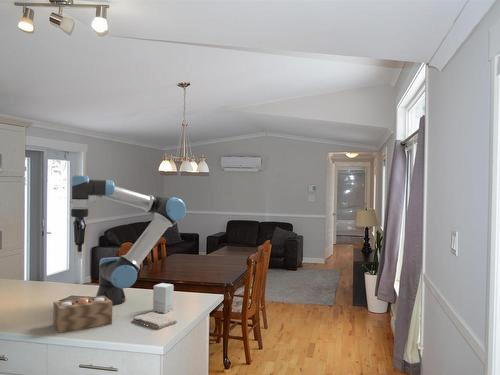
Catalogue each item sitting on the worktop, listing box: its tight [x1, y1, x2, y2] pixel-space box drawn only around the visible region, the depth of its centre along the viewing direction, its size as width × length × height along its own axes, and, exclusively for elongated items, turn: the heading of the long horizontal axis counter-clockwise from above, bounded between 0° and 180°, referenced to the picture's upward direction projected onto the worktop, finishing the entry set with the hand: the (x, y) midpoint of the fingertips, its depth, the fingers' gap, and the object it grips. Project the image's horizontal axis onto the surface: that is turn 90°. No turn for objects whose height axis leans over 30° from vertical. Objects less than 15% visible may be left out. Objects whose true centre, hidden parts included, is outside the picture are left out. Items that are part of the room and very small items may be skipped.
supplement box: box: [152, 282, 175, 314], centre depth 224 cm, size 7×7×13 cm
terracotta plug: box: [77, 296, 89, 304], centre depth 200 cm, size 4×4×9 cm
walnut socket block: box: [52, 296, 113, 333], centre depth 200 cm, size 22×12×10 cm, turn 125°
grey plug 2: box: [94, 298, 104, 302], centre depth 204 cm, size 4×4×9 cm
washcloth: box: [132, 311, 178, 330], centre depth 206 cm, size 12×18×3 cm, turn 55°
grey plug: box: [61, 302, 72, 306], centre depth 196 cm, size 4×4×9 cm
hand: (78, 258), depth 214 cm, fingers closed
